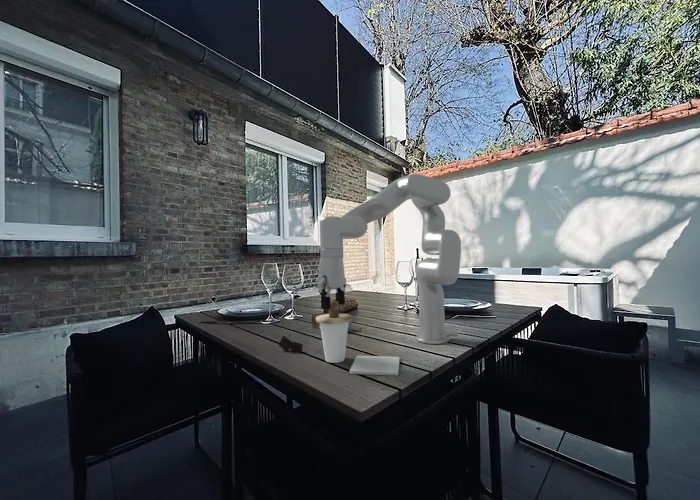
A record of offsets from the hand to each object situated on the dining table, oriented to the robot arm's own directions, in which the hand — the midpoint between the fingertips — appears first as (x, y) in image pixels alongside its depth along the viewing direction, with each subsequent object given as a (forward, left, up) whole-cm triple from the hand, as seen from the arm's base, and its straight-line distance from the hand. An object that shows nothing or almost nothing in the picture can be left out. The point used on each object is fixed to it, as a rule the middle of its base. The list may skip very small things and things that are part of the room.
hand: (333, 306), depth 110 cm
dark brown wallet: (+18, -8, -18) cm, 27 cm away
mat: (-14, +5, -17) cm, 23 cm away
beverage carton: (+11, -42, -18) cm, 47 cm away
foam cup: (0, 0, -18) cm, 18 cm away
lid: (0, 0, -4) cm, 4 cm away
